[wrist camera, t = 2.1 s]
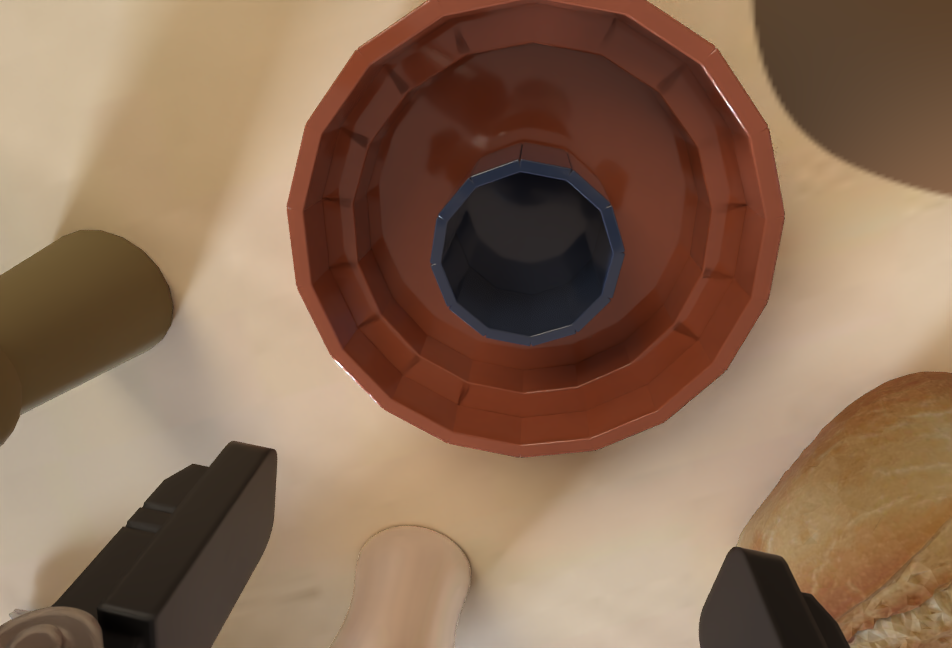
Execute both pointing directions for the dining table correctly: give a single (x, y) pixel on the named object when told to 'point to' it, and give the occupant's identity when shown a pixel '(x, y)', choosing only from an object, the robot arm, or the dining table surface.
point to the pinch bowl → (527, 246)
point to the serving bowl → (600, 150)
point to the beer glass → (406, 591)
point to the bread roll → (873, 516)
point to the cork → (75, 317)
